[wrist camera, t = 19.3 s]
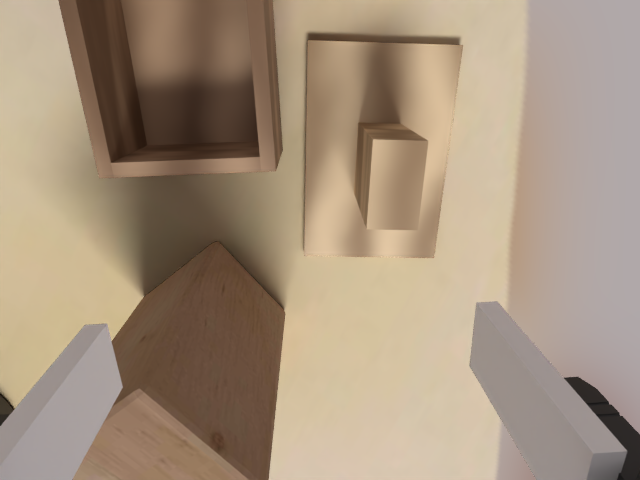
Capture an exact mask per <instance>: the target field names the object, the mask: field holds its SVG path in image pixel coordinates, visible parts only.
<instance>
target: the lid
mask: <svg viewBox="0 0 640 480" xmlns="http://www.w3.org/2000/svg"><path fill="white" fill-rule="evenodd" d="M462 49H463V45H442V44H411V43H380V42H349V41H319V40H308V52H307V113H306V174H305V235H304V256H347V257H403V258H434V253H435V246H436V239H437V232H438V224H439V217H440V210H441V202H442V195H443V188H444V181H445V173H446V166H447V159H448V151H449V144H450V137H451V129H452V122H453V115H454V108H455V100H456V93H457V86H458V78H459V71H460V64H461V57H462Z"/></svg>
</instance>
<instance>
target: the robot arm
mask: <svg viewBox="0 0 640 480" xmlns="http://www.w3.org/2000/svg"><path fill="white" fill-rule="evenodd" d="M470 368H471V369H472V371H473V373H474V374H475V376H476V378H477V379H478V381H479V383H480V385H481V386H482V388H483V390H484V391H485V393H486V395H487V397H488V398H489V400H490V402H491V403H492V405H493V407H494V408H495V410H496V412H497V414H498V415H499V417H500V419H501V420H502V422H503V424H504V426H505V427H506V429H507V431H508V432H509V434H510V436H511V437H512V439H513V441H514V443H515V444H516V446H517V448H518V449H519V451H520V453H521V455H522V456H523V458H524V459H525V461H526V463H527V465H528V467H529V468H530V470H531V472H532V473H533V475H534V477H535V478H536V480H640V434H639V433H638V432H637V431H636V430H635V429H634V428H633V427H632V426H631V425H630V424H629V423H628V422H627V421H626V420H625V419H624V418H623V416H620V415H619V412H618V411H617V410H616V409H615V408H614V407H613V406H612V405H609V402H608V401H607V400H606V398H605V397H604V396H603V395H602V394H601V393H600V392H599V391H598V390H597V389H596V388H595V387H593V386H591V385H590V384H588V383H587V382H585V381H584V380H582V379H581V378H579V377H569V378H563V377H562V375H561V374H560V373H559V372H558V371H557V370H556V369H555V367H554V366H553V365H552V364H551V363H550V362H549V360H548V359H547V358H546V357H545V356H544V355H543V354H542V352H541V351H540V350H539V349H538V348H537V347H536V346H535V345H534V343H533V342H532V341H531V340H530V339H529V338H528V336H527V335H526V334H525V333H524V332H523V331H522V329H521V328H520V327H519V326H518V325H517V324H516V322H515V321H514V320H513V319H512V318H511V317H510V316H509V314H508V313H507V312H506V311H505V310H504V309H503V308H502V306H501V305H500V304H499V303H498V302H479V303H476V310H475V320H474V329H473V338H472V347H471V356H470ZM122 388H123V386H122V382H121V378H120V374H119V370H118V366H117V362H116V358H115V354H114V349H113V345H112V341H111V337H110V333H109V329H108V325H107V324H93V325H84V327H83V328H82V329H81V330H80V331H79V333H78V334H77V335H76V336H75V337H74V339H73V340H72V341H71V342H70V343H69V345H68V346H67V347H66V348H65V349H64V351H63V352H62V353H61V354H60V355H59V357H58V358H57V359H56V360H55V361H54V363H53V364H52V365H51V366H50V367H49V369H48V370H47V371H46V372H45V373H44V375H43V376H42V377H41V378H40V379H39V381H38V382H37V383H36V384H35V385H34V387H33V388H32V389H31V390H30V391H29V393H28V394H27V395H26V396H25V397H24V399H23V400H22V401H21V402H20V403H19V404H18V406H17V407H16V408H15V409H14V410H13V409H12V408H11V406H10V405H9V404H8V403H7V401H6V400H5V399H4V398H3V397H2V396H0V480H72V479H73V477H74V475H75V473H76V472H77V470H78V468H79V466H80V464H81V462H82V461H83V459H84V457H85V455H86V453H87V452H88V450H89V448H90V446H91V444H92V442H93V441H94V439H95V437H96V435H97V433H98V432H99V430H100V428H101V426H102V424H103V422H104V421H105V419H106V417H107V415H108V413H109V412H110V410H111V408H112V406H113V404H114V402H115V401H116V399H117V397H118V395H119V393H120V392H121V390H122Z"/></svg>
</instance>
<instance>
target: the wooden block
mask: <svg viewBox="0 0 640 480" xmlns="http://www.w3.org/2000/svg"><path fill="white" fill-rule="evenodd" d="M284 321H285V312H284V310H283V309H282V308H281V307H280V306H279V305H278V303H277V302H276V301H275V300H274V299H273V298H272V297H271V296H270V295H269V294H268V293H267V292H266V291H265V290H264V289H263V288H262V287H261V286H260V285H259V283H258V282H257V281H256V280H255V279H254V278H253V277H252V276H251V275H250V274H249V273H248V272H247V271H246V270H245V269H244V268H243V267H242V266H241V265H240V264H239V262H238V261H237V260H236V259H235V258H234V257H233V256H232V255H231V254H230V253H229V252H228V251H227V250H226V249H225V248H224V247H223V246H222V245H221V244H220V243H219V242H214V243H212V244H211V245H209V246H208V247H207V248H205V249H204V250H203V251H202V252H200V253H199V254H198V255H197V256H195V257H194V258H193V259H192V260H190V261H189V262H188V263H187V264H185V265H184V266H183V267H181V268H180V269H179V270H178V271H176V272H175V273H174V274H173V275H171V276H170V277H169V278H168V279H166V280H165V281H164V282H162V283H161V284H160V285H159V286H157V287H156V288H155V289H154V290H152V291H151V292H150V293H149V294H147V295H146V296H145V297H144V298H143V299H142V300H141V302H140V303H139V304H138V306H137V307H136V309H135V310H134V311H133V313H132V314H131V316H130V317H129V318H128V320H127V321H126V322H125V324H124V325H123V327H122V328H121V329H120V331H119V332H118V334H117V335H116V336H115V338H114V339H113V340H112V345H113V349H114V354H115V358H116V362H117V366H118V370H119V374H120V378H121V382H122V386H123V388H122V390H121V392H120V393H119V395H118V397H117V399H116V401H115V402H114V404H113V406H112V408H111V410H110V412H109V413H108V415H107V417H106V419H105V421H104V422H103V424H102V426H101V428H100V430H99V432H98V433H97V435H96V437H95V439H94V441H93V442H92V444H91V446H90V448H89V450H88V452H87V453H86V455H85V457H84V459H83V461H82V462H81V464H80V466H79V468H78V470H77V472H76V473H75V475H74V477H73V479H72V480H268V479H269V469H270V459H271V449H272V440H273V430H274V420H275V410H276V400H277V390H278V380H279V370H280V360H281V350H282V340H283V331H284Z"/></svg>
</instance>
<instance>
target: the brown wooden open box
mask: <svg viewBox="0 0 640 480" xmlns="http://www.w3.org/2000/svg"><path fill="white" fill-rule="evenodd" d="M59 5H60V9H61V13H62V18H63V22H64V26H65V31H66V35H67V39H68V44H69V48H70V53H71V57H72V61H73V66H74V70H75V74H76V79H77V83H78V87H79V92H80V96H81V101H82V105H83V109H84V114H85V118H86V122H87V127H88V131H89V136H90V140H91V144H92V149H93V153H94V157H95V162H96V166H97V170H98V175H99V178H118V177H143V176H167V175H192V174H217V173H242V172H267V171H276V169H277V166H278V163H279V160H280V157H281V154H282V151H283V147H282V132H281V117H280V103H279V88H278V73H277V58H276V43H275V29H274V14H273V0H59Z"/></svg>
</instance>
